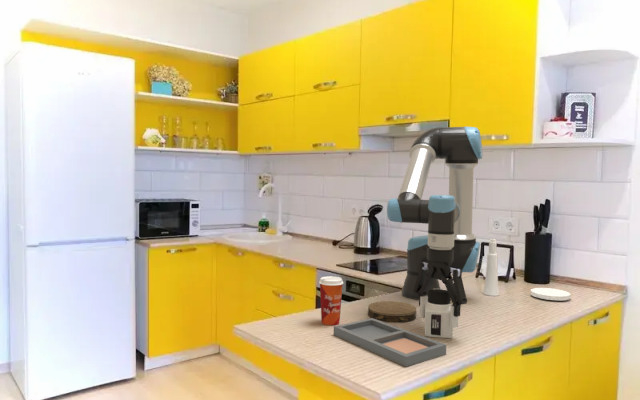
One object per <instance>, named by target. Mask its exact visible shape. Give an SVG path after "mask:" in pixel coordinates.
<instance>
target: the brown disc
mask: <svg viewBox="0 0 640 400" xmlns="http://www.w3.org/2000/svg"><path fill="white" fill-rule="evenodd" d="M367 308H368V309H367V315H368V316H369V317H370V318H374V319H376V320H379V321H382V322H385V323H395V324H397V323H398V324H399V323H408V322H409V323H410V322H412V321H415V320H416V319H417V307H416V306H415V305H414V304H413V305H412V304H410V303H407V302H403V301H402V302H401V301H393V300H392V301H391V300H387V301H385V300H384V301H383V300H382V301H376V302H371V303H369V304H368V307H367Z"/></svg>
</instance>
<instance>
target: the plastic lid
mask: <svg viewBox="0 0 640 400" xmlns="http://www.w3.org/2000/svg"><path fill="white" fill-rule="evenodd" d="M530 295H531V296H533V297H535V298H537V299H542V300H548V301H569V300H571V295H572V294H571V293H570V292H569V291H566V290H563V289H558V288H549V287H534V288H531V289H530Z"/></svg>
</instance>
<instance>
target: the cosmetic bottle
mask: <svg viewBox="0 0 640 400" xmlns="http://www.w3.org/2000/svg"><path fill="white" fill-rule="evenodd" d="M497 243H498V242H497V239H495V238H490V239H489V242H488V253H487V257H486V269H485V270H486V271H485V280H484V286H483V292H482V294H483V295H484V296H489V297H497V296H500V291H499V276H498V274H499V272H498V266H499V265H498V253H497Z"/></svg>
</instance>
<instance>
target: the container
mask: <svg viewBox="0 0 640 400" xmlns="http://www.w3.org/2000/svg"><path fill="white" fill-rule="evenodd" d="M451 302H452V300H451V298H450V296H449V293H448V291H447V289H443V288H440V289H431V290H429V291H428V304H425V318H424V337H426V338H429V337H430V338H441V339H442V338H443V339H453V331H454V330H453V329H454V328H450V305H451Z"/></svg>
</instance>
